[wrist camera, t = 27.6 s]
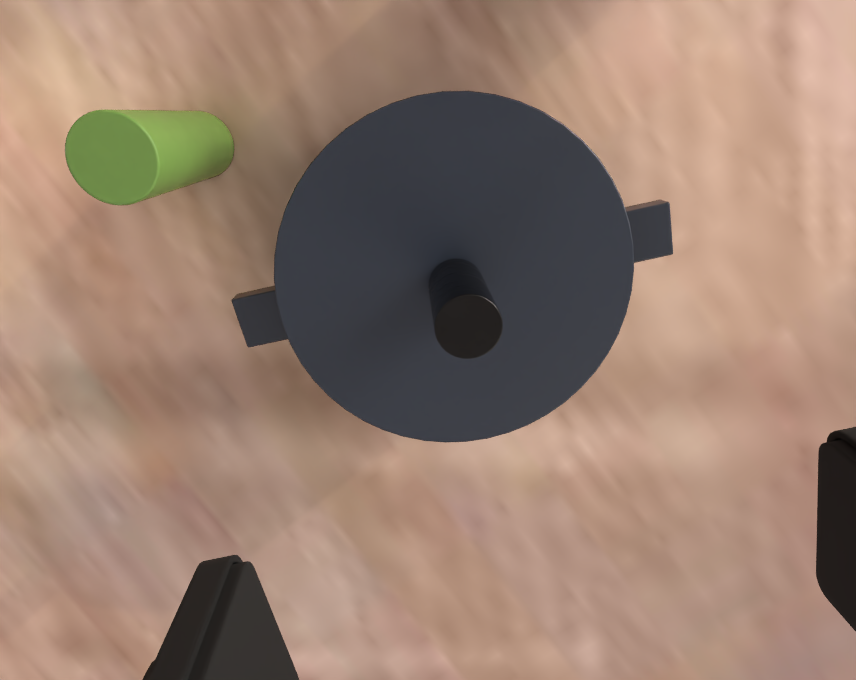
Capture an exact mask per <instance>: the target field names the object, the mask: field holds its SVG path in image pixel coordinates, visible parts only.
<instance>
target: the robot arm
mask: <svg viewBox="0 0 856 680" xmlns="http://www.w3.org/2000/svg"><path fill="white" fill-rule="evenodd" d="M816 576H817V580H818V583H819V586H820V588H821V590H822V592H823V594H824V595H825V597H826V598H827V599H828V600H829V602H830V603H831V604H832V605H833V606H834V607H835V608H836V610H837V611H838V612H839V613H840V614H841V615H842V616H843V618H844V619H845V620H846V621H847V622H848V623H849V624H850V626H851V627H852V628H853V629H854V630H855V631H856V427H853V428H848V429H843V430H838V431H834V432H832V433H830V434H829V436H828V438H827V443H823V444H821V446H820V448H819V459H818V507H817V556H816ZM143 680H299V678H298V675H297V672H296V670H295V667H294V665H293V662H292V660H291V657H290V655H289V652H288V650H287V647H286V645H285V643H284V640H283V638H282V635H281V633H280V630H279V628H278V625H277V623H276V620H275V618H274V615H273V613H272V610H271V608H270V605H269V603H268V600H267V598H266V596H265V593H264V591H263V588H262V586H261V583H260V581H259V578H258V576H257V573H256V571H255V568H254V566H253V564H252V563H251V562H248V561H247V562H242V560H241V558H240V557H239V556H238V555H231V556H227V557H222V558H217V559H212V560H207V561H203V562H201V563H200V564H199V565H198V567H197V569H196V571H195V573H194V575H193V578H192V580H191V582H190V584H189V586H188V589H187V591H186V593H185V595H184V597H183V600H182V602H181V604H180V606H179V608H178V611H177V613H176V615H175V617H174V620H173V622H172V624H171V626H170V628H169V631H168V633H167V635H166V637H165V639H164V642H163V644H162V646H161V648H160V650H159V653H158V655H157V657H156V659H155V660H154V661H153V662H152V663H151V665H150V667H149V668H148V670H147V672H146V673H145V676H144V678H143Z"/></svg>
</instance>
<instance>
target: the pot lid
mask: <svg viewBox="0 0 856 680" xmlns="http://www.w3.org/2000/svg"><path fill="white" fill-rule="evenodd" d="M633 272H634V255H633V241H632V235H631V229H630V223H629V220H628V216H627V213H626V210H625V207H624V204H623V200H622V198H621V196H620V194H619V192H618V190H617V188H616V186H615V183H614V181H613V179H612V178H611V176H610V175H609V173H608V172H607V170H606V169H605V167H604V165H603V164H602V162H601V161H600V159H599V158H598V157H597V156H596V155H595V154H594V153H593V151H592V150H591V149H590V148H589V147H588V146H587V145H586V144H585V142H584V141H583V140H582V139H580V138H579V137H578V136H577V135H576V134H575V133H573V132H572V131H571V130H570V129H569V128H567V127H566V126H565V125H564V124H562V123H561V122H559V121H557V120H556V119H554V118H553V117H551V116H549V115H548V114H546V113H545V112H543V111H541V110H538V109H536V108H534V107H532V106H529V105H527V104H525V103H522V102H520V101H517V100H514V99H510V98H506V97H503V96H499V95H495V94H489V93H481V92H473V91H442V92H436V93H429V94H423V95H417V96H413V97H410V98H407V99H404V100H400V101H397V102H394V103H391V104H389V105H387V106H385V107H382V108H380V109H378V110H376V111H374V112H372V113H370V114H368V115H366V116H364V117H363V118H361V119H360V120H358V121H357V122H355V123H354V124H352V125H351V126H349V127H348V128H346V129H345V130H344V131H343V132H341V133H340V134H339V135H338V136H337V137H336V138H335V139H333V140H332V141H331V142H330V143H329V144H328V145H327V146H326V147H325V148H324V149H323V150H322V151H321V152H320V154H319V155H318V156H317V157H316V158H315V159H314V161H313V162H312V163H311V164H310V165H309V167H308V168H307V170H306V171H305V173H304V174H303V176H302V178H301V179H300V181H299V182H298V184H297V185H296V187H295V189H294V191H293V194H292V196H291V198H290V200H289V202H288V204H287V206H286V209H285V212H284V215H283V218H282V222H281V225H280V228H279V231H278V237H277V243H276V249H275V258H274V283H275V292H276V301H277V305H278V309H279V313H280V317H281V321H282V324H283V327H284V329H285V332H286V334H287V337H288V340H289V342H290V344H291V346H292V348H293V350H294V352H295V353H296V355H297V357H298V359H299V360H300V362H301V364H302V365H303V367H304V368H305V369H306V371H307V372H308V373H309V375H310V376H311V377H312V379H313V380H314V381H315V382H316V383H317V384H318V385H319V386H320V387H321V388H322V389H323V390H324V392H325V393H326V394H327V395H328V396H329V397H331V398H332V399H333V400H334V401H336V402H337V403H338V404H339V405H341V406H342V407H343V408H344V409H345V410H347V411H349V412H350V413H352V414H353V415H355V416H357V417H358V418H360V419H362V420H363V421H365V422H367V423H369V424H371V425H374V426H376V427H378V428H380V429H382V430H385V431H388V432H391V433H394V434H397V435H400V436H403V437H408V438H414V439H419V440H424V441H435V442H467V441H473V440H480V439H487V438H491V437H494V436H498V435H502V434H505V433H509V432H511V431H514V430H516V429H519V428H521V427H524V426H526V425H529V424H531V423H532V422H534V421H536V420H538V419H540V418H542V417H544V416H545V415H547V414H549V413H550V412H552V411H553V410H554V409H556V408H557V407H559V406H560V405H562V404H563V403H564V402H566V401H567V400H568V399H569V398H570V397H571V396H572V395H574V394H575V393H576V392H577V391H578V390H579V389H580V388H581V387H582V386H583V385H584V384H585V383H586V382H587V381H588V379H589V378H590V377H591V376H592V375H593V374H594V373H595V372H596V370H597V369H598V367H599V366H600V364H601V363H602V362H603V360H604V359H605V357H606V356H607V354H608V353H609V351H610V349H611V347H612V345H613V343H614V341H615V339H616V338H617V336H618V334H619V331H620V328H621V326H622V323H623V320H624V318H625V315H626V312H627V308H628V304H629V300H630V295H631V291H632V282H633Z"/></svg>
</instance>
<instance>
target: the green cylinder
mask: <svg viewBox="0 0 856 680" xmlns="http://www.w3.org/2000/svg"><path fill="white" fill-rule="evenodd" d="M233 153H234V144H233V139H232V136H231V134H230V132H229V130H228V128H227V127H226V125H225V124H224V123H223V122H222V121H221V120H220V119H218V118H217V117H216V116H214V115H212V114H209V113H207V112H203V111H162V110H96V111H92V112H89V113H87V114H85V115H83V116H82V117H80V118H79V119H78V120H77V121H76V122H75V123H74V124H73V126H72V127H71V129H70V131H69V132H68V135H67V138H66V143H65V155H66V161H67V164H68V167H69V170H70V172H71V174H72V176H73V177H74V179H75V180H76V182H77V183H78V184H79V185H80V186H81V188H82V189H83V190H85V191H86V192H87V193H88V194H89V195H91V196H93V197H94V198H96V199H98V200H100V201H102V202H105V203H108V204H112V205H130V204H134V203H137V202H140V201H143V200H146V199H149V198H152V197H155V196H158V195H161V194H164V193H167V192H170V191H173V190H176V189H179V188H182V187H185V186H188V185H191V184H194V183H197V182H200V181H203V180H206V179H209V178H212V177H215V176H217V175H219V174H221V173H223V172H224V171H225V170H226V169H227V168H228V166H229V165H230V163H231V161H232V158H233Z"/></svg>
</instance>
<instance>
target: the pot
mask: <svg viewBox="0 0 856 680" xmlns="http://www.w3.org/2000/svg"><path fill="white" fill-rule="evenodd" d="M625 210H626V213H627V216H628V220H629V223H630V229H631V235H632V241H633V255H634V263H636V262H640V261H645V260H649V259H654V258H658V257H663V256H667V255H672V254H673V245H672V231H671V217H670V203H669V202H666V201H663V200H656V201H652V202H647V203H643V204H638V205H634V206H629V207H625ZM232 304H233V306H234V309H235V312H236V315H237V318H238V321H239V324H240V326H241V329H242V332H243V335H244V338H245V341H246V344H247V346H248V347H254V346H258V345H263V344H267V343H272V342H276V341H281V340H285V339H288V337H287V334H286V332H285V329H284V327H283V324H282V321H281V317H280V313H279V309H278V305H277V301H276V292H275V286H271V287H266V288H262V289H258V290H253V291H249V292H244V293H240V294H237V295H236V296H235V297H234V298H233V299H232Z"/></svg>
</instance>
